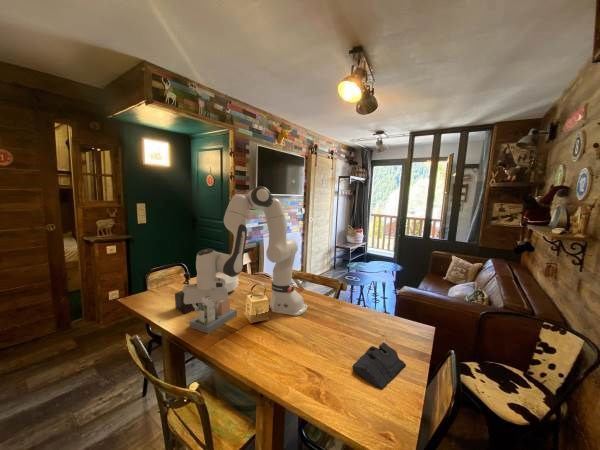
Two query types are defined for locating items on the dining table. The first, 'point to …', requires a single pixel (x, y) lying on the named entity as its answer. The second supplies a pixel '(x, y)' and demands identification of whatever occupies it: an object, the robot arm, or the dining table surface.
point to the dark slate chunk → (379, 365)
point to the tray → (216, 317)
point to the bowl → (229, 281)
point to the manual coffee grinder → (180, 299)
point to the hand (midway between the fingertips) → (206, 309)
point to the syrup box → (206, 311)
